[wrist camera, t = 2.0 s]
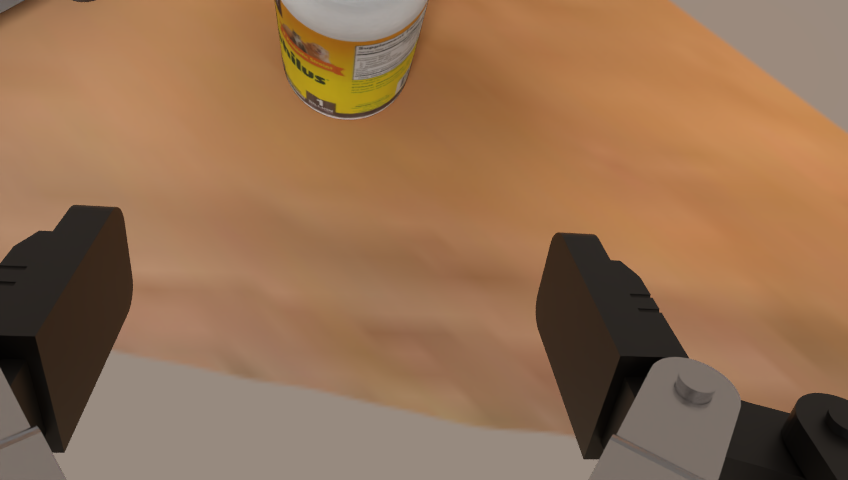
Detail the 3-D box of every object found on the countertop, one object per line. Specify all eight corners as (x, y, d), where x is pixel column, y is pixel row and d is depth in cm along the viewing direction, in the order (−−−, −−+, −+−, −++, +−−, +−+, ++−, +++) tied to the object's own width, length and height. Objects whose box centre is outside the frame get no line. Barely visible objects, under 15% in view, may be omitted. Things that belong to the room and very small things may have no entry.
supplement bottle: (263, 34, 30) (232, -140, 20) (377, -5, 31) (400, -187, 21) (313, 144, 29) (307, 19, 19) (428, 100, 30) (477, -39, 20)
